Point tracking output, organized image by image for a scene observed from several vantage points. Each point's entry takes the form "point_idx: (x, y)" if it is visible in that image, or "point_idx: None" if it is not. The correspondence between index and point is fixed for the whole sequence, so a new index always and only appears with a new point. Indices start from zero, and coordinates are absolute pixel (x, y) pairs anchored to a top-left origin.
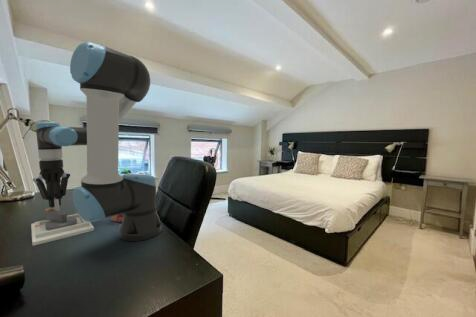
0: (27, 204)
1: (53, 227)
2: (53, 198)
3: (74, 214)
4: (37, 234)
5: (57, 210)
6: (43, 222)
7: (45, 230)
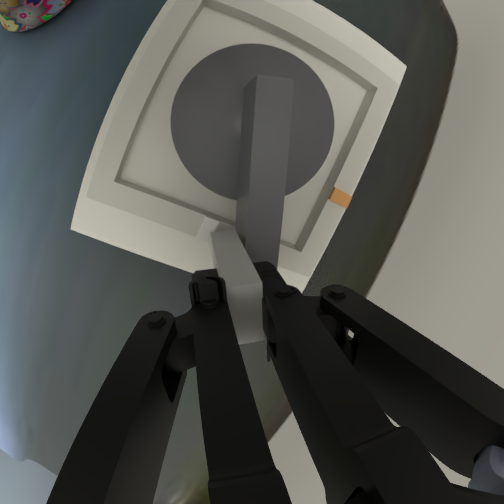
0: (174, 491)
1: (322, 87)
2: (281, 291)
3: (127, 206)
4: (393, 81)
5: (228, 240)
6: (284, 243)
7: None
